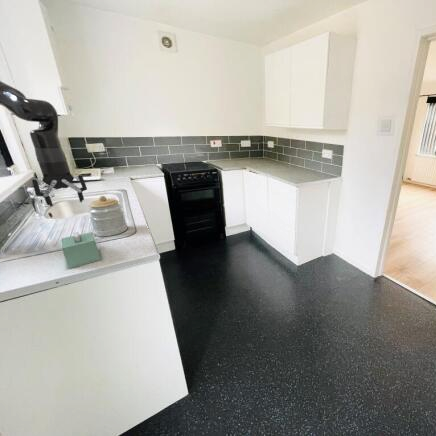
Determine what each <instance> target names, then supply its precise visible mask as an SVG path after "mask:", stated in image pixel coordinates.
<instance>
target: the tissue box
mask: <svg viewBox="0 0 436 436" xmlns="http://www.w3.org/2000/svg"><path fill="white" fill-rule="evenodd" d="M95 240H96V239H95V237H94V235H93V232H92V231H90V232H85V233H81V234H79V232H78V231H77V232H74V233H73V235H72V236H66V237H63V238H62V237H61V251H62V252H63V256H64V259H65V261H66V263H67V266H68V269H72V268H76V267H80V266H84V265H87V264H92V263H95V262H98V261H101V260H102V259H101V256H100V253H99V250H98V246H97V243H96V241H95Z"/></svg>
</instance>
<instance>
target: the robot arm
mask: <svg viewBox="0 0 436 436" xmlns="http://www.w3.org/2000/svg"><path fill="white" fill-rule="evenodd" d="M0 106H2V107H4V108H6V109H7V110H8V112H10V113H12V114H13V115H14V116H15V117H17V118H18V119H21V120H23V121H26V122H30V123H38V127H37V128H35V129H32V130H30V131H29V137H30V139H31V143H32V146H33V148H34V153H35V157H36V161H37V162H38V163H37V164H38V165H39V168H40V171H41V174H42V178H36V177H35V178H32V180H31V182H32V186H33V190H34V193H35V196H36V197H43V198H44V200H45V203H46V205H47V206H50V207H52V208H53V207H54V204H53V201H52V198H51V196H50V193H51V192H52V190H53V189H55V190H61V189H68V188H70V189H73V190H74V191H75V192H76V193H77V196H78V199H79V202H80V203H83V201H84V200H85V197H84V195H83V192H84V191H87V190H88V187H87V185H86V182H85V179H84V177H83V174H81V173H79V174H76V175H73V174H72V173H71V170H70V167H69V164H68V161H67V157H66V154H65V151H64V149H63V147H62V144H61V141H60V138H59V115H58V112H57V109H56V108H55V107H54V105H53V104H51V102H49V101H47V100H43V99H33V98H27V97H26V95H25V94H24V93H23V92H22V91H20V90H19V89H17V88H16V87H13V86H11V85H9V84H7V83H5V82H3V81H1V80H0ZM74 180H76V181H78V182H80V185H81V187H78V186H77V185H75V184H74V183H73V181H74ZM42 183H44V184H45V185H47V188H46V189H45V190H44V192H43V191H41V189H40V185H42Z"/></svg>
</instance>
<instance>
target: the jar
mask: <svg viewBox="0 0 436 436" xmlns="http://www.w3.org/2000/svg"><path fill="white" fill-rule="evenodd" d="M119 202H120V201H119V200H117V199H115V198H107V196H105V195H100V196H99V198H98V199H96V200H93V201H91V203H89V204H88V207H89V209H88V210H87V212H88V213H89V214H90V216H89V219H90V222H91V225H92V229H93V232H94V234H95V235H96V237H111V236H115V235H118V234H122V233H123V232H125V231H127V229H128V224H127V221H126V218H125V213H124V211H123V210H122V208H123V205H122V204H120V203H119Z"/></svg>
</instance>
